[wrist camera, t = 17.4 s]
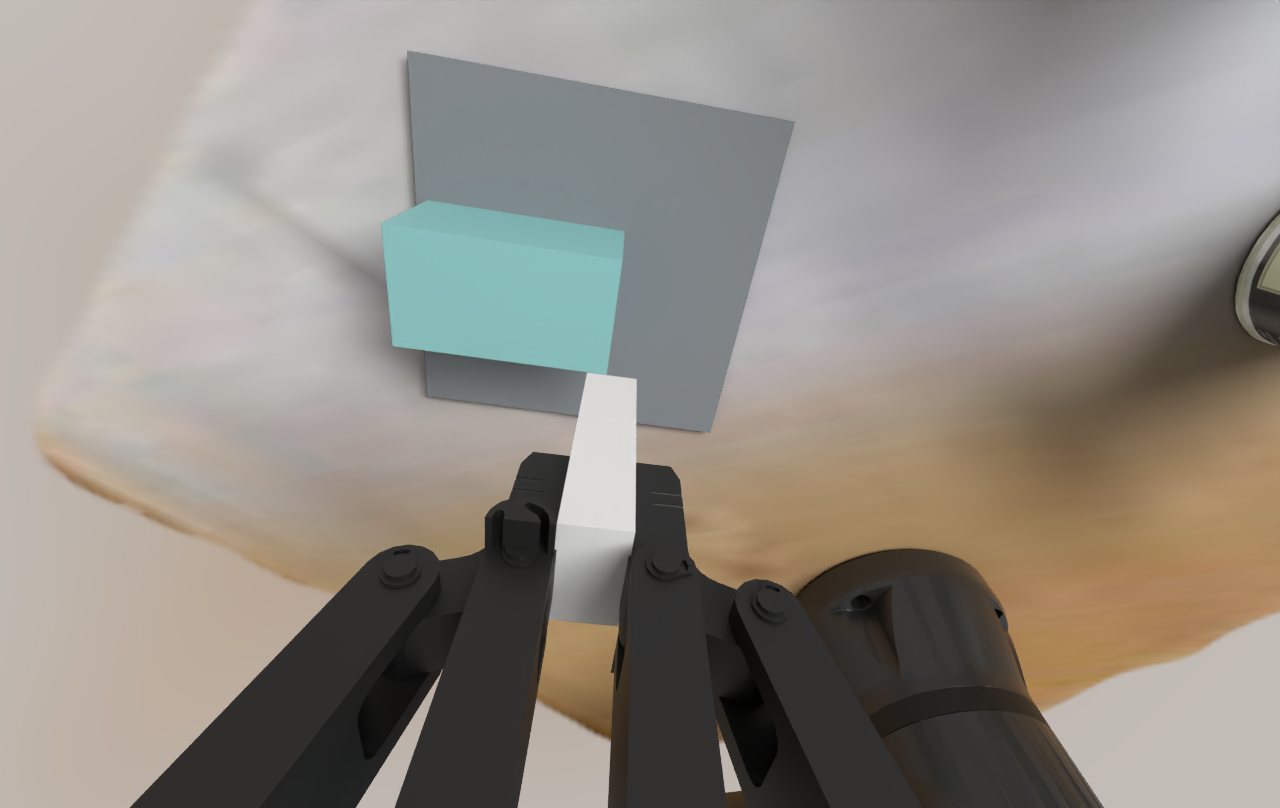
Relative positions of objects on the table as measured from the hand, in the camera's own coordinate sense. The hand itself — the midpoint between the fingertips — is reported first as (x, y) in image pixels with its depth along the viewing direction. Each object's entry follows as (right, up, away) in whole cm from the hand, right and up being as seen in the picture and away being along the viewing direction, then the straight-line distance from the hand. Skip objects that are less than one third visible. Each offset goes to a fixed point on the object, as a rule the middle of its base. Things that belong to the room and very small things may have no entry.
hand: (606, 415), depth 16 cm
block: (0, +5, +7) cm, 9 cm away
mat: (-2, +7, +10) cm, 12 cm away
